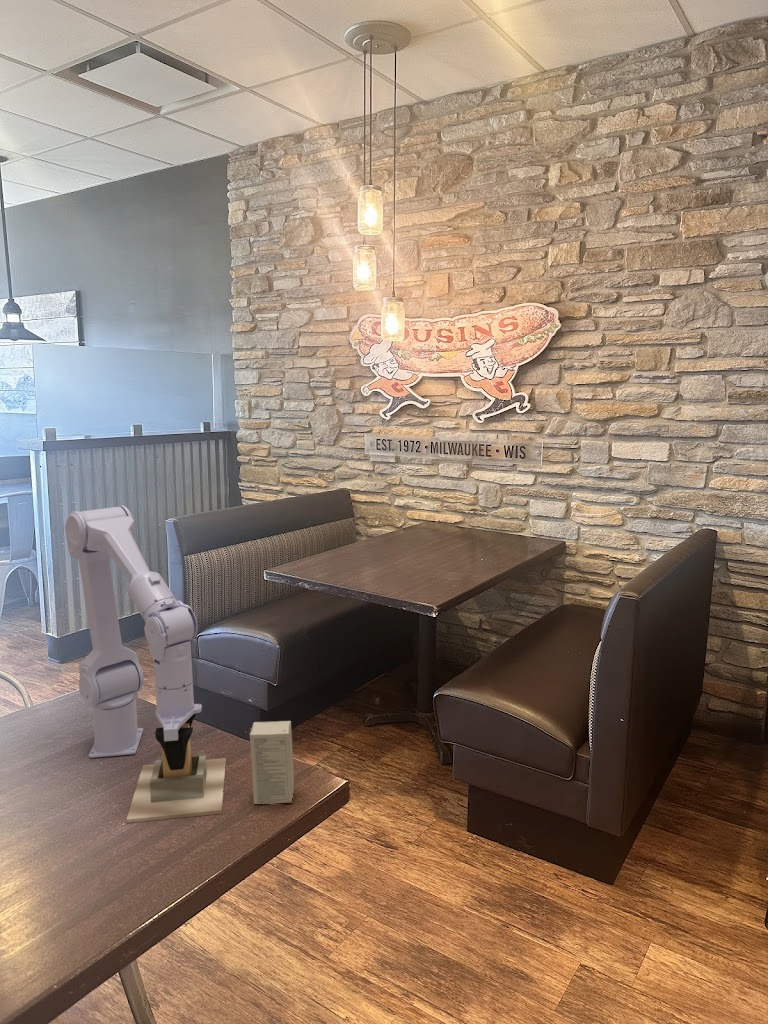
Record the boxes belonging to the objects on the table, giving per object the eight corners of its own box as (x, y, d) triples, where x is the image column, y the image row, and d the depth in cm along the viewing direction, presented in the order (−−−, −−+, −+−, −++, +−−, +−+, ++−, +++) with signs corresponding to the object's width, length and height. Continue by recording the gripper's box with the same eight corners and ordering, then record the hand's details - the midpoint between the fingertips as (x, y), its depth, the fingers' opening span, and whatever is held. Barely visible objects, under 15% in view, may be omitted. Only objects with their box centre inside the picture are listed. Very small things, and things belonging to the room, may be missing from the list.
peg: (166, 770, 119) (164, 725, 118) (191, 768, 120) (189, 723, 118) (163, 783, 115) (161, 736, 114) (189, 781, 116) (187, 734, 115)
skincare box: (294, 789, 118) (292, 720, 116) (292, 805, 114) (290, 733, 112) (255, 790, 118) (253, 720, 116) (251, 806, 113) (249, 734, 111)
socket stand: (143, 768, 125) (141, 746, 124) (226, 761, 127) (225, 740, 126) (126, 823, 109) (125, 798, 108) (221, 813, 111) (220, 789, 111)
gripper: (196, 699, 108) (200, 782, 111) (203, 663, 123) (206, 738, 125) (147, 703, 107) (152, 787, 110) (160, 666, 121) (164, 741, 124)
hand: (178, 761), depth 117 cm, fingers closed on peg, 4 cm apart
